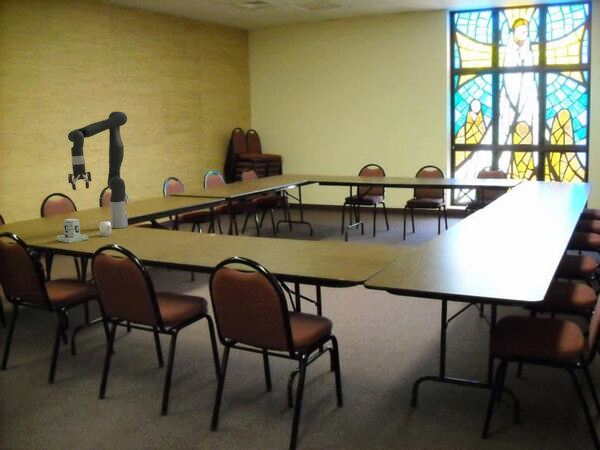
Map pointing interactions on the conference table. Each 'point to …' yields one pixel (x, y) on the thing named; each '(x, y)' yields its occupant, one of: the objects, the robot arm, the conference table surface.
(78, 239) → the tray
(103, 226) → the mug
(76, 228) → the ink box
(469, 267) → the conference table surface
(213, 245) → the conference table surface
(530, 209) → the conference table surface
